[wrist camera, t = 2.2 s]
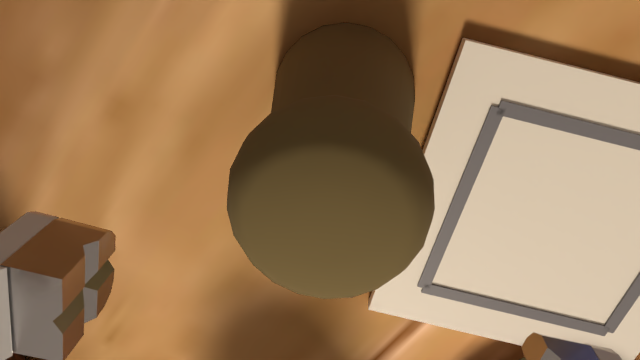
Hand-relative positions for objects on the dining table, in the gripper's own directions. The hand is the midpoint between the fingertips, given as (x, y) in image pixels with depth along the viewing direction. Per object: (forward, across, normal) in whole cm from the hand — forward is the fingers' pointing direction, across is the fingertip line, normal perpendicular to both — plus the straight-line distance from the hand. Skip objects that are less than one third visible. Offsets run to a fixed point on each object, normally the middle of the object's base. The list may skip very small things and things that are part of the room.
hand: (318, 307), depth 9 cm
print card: (+13, -11, +3) cm, 17 cm away
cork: (+13, 0, -1) cm, 13 cm away
